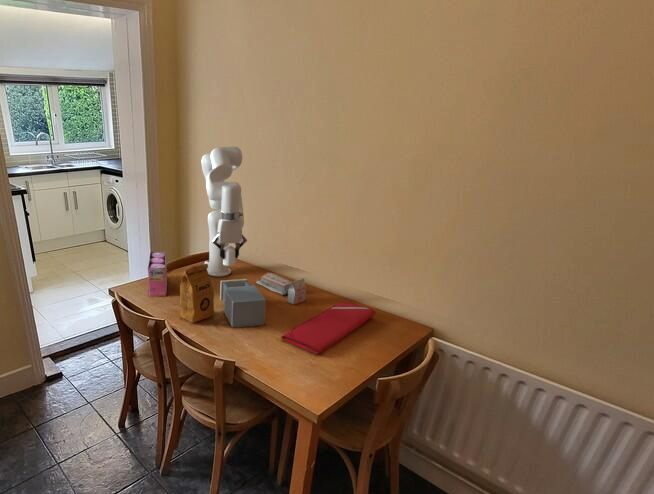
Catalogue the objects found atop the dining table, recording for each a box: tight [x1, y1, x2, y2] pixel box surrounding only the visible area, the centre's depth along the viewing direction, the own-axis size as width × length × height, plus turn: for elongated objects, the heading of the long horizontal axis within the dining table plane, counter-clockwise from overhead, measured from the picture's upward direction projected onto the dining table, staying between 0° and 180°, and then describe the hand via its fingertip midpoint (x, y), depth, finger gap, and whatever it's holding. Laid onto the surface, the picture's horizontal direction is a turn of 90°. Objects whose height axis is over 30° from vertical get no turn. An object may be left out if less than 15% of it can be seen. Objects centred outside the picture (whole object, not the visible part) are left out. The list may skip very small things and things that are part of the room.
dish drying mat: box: [281, 301, 377, 355], centre depth 154 cm, size 16×41×4 cm, turn 132°
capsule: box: [223, 245, 236, 267], centre depth 176 cm, size 5×5×8 cm
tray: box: [219, 278, 250, 303], centre depth 173 cm, size 19×11×9 cm, turn 9°
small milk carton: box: [287, 277, 307, 305], centre depth 175 cm, size 4×7×10 cm, turn 124°
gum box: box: [147, 251, 168, 297], centre depth 192 cm, size 24×8×14 cm, turn 2°
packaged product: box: [255, 272, 292, 296], centre depth 190 cm, size 18×5×10 cm
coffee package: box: [179, 263, 215, 324], centre depth 160 cm, size 10×12×22 cm
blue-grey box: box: [223, 285, 267, 328], centre depth 161 cm, size 15×13×11 cm
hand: (229, 257), depth 176 cm, fingers closed on capsule, 5 cm apart
